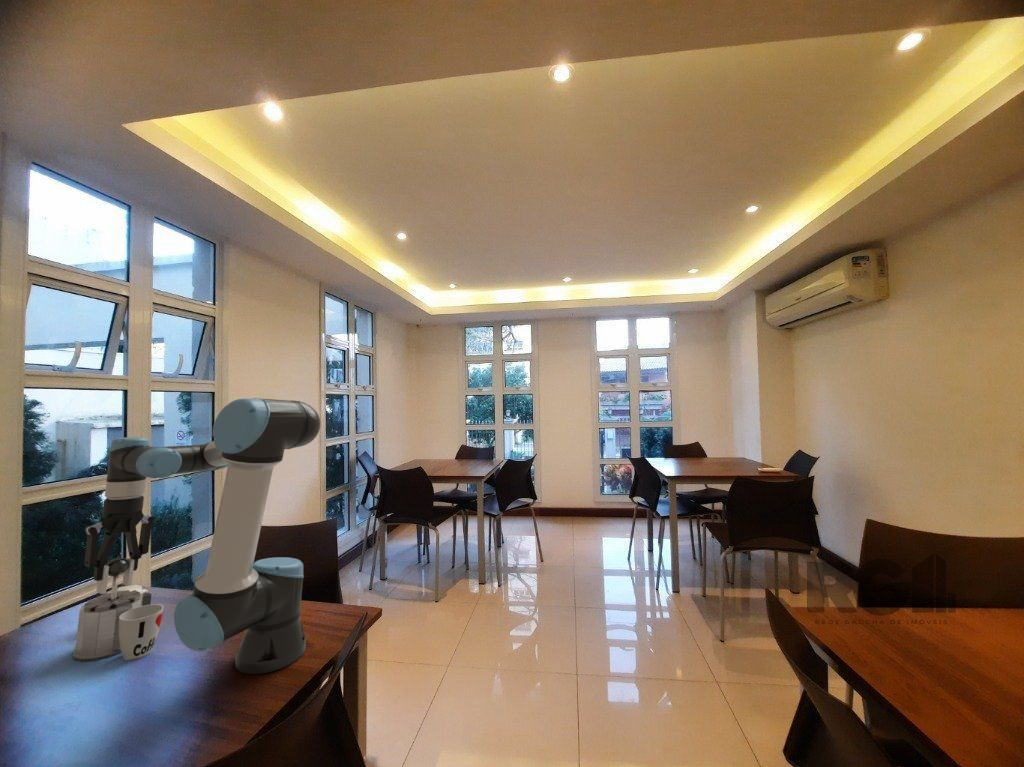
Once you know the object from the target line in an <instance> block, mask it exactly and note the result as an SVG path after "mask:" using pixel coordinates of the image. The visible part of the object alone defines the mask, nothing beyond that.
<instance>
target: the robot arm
mask: <svg viewBox="0 0 1024 767" xmlns="http://www.w3.org/2000/svg"><path fill="white" fill-rule="evenodd" d="M320 429H321V419H320V415H319V414H318V412H317V411H316V409H315V408H314V407H313V406H311V405H310V404H309V403H307V402H303V401H300V400H291V399H290V400H288V399H287V400H286V399H285V400H284V399H272V398H271V399H270V398H260V397H259V398H257V397H253V398H238V399H235V400H232V401H231V402H229V403H228V404H226V405H225V406H224V407H223V408H222V409H221V410H220V411H219V413H218V414H217V415H216V417H215V420H214V423H213V427H212V437H213V438H214V439H213V441H210V442H207V443H203V444H194V445H193V444H192V445H187V444H186V445H173V446H170V445H169V446H151V443H150V442H151V441H150V439H149V438H147V437H141V436H140V437H138V436H137V437H135V436H133V437H132V436H130V437H116V438H114V439H112V441H111V443H110V448H109V452H108V464H107V474H106V475H107V476H106V482H105V483H106V484H105V490H104V492H105V493H104V497H105V499H104V500H103V508H102V517H101V519H100V520H99V522H97V523H95V524H92V525H87V526H85V527H84V532H85V534H86V543H85V544H86V545H85V554H84V555H85V556H84V566H85V567H88V568H91V569H92V568H94V570H93V580H94V581H96V582H97V584H96V593H98V594H101V595H104V594H105V593H107V588H108V581H109V580H108V579H109V576H108V571H109V566H107V563H108V562H107V561H108V559H109V556H110V553H111V551H112V548H113V547H114V546H113V545H114V542H115V540H116V539H117V538H118V535H121V534H122V533H124V535H125V540H126V544H127V545H126V546H127V551H128V556H129V557H126V558H125V559H126V560H127V561H128V563H129V566H128V568H127V570H126V571H125V572H124V573H123V574H122V585H124V586H131V585H133V579H134V578H133V576H134V572H135V571H137V569H138V568H139V567H138V566H139V560H140V559H141V558H142V556H144V555H146V554H147V553H149V551H150V550H149V549H150V540H151V535H152V526H153V524H154V521H155V519H156V517H155V516H154V515H144V513H143V508H144V500H145V496H144V495H143V494H145V493H146V480H147V478H150V479H164V478H168V477H170V476H173V475H182V474H190V473H197V472H207V471H211V472H212V471H217V470H221V469H225V468H227V469H226V474H225V479H224V483H223V488H222V494H221V496H220V497H221V498H220V501H219V502H220V503H219V507H218V511H217V517H216V521H215V527H214V532H213V536H212V540H211V546H210V551H209V556H208V559H207V560H208V561H207V566H206V570H205V571H204V572H203V573H201V574H200V575H198V577H196V579H195V582H194V585H193V591H192V594H189V595H186V596H184V597H183V598H182V599H180V600H179V601H178V603H177V604H176V606H175V609H174V614H173V620H174V628H175V631H176V634H177V635H178V638H179V640H180V641H181V643H182V644H183V645H184V646H185V647H186V648H188V650H191V651H193V652H203V651H206V650H209V649H211V648H213V647H214V646H215V647H216V646H219V645H221V644H222V643H223V642H225V641H227V640H229V639H230V638H233V637H234V636H236V635H239V634H241V633H242V632H244V634H243V636H242V640H241V642H240V644H239V647H238V649H237V650H236V654H235V661H234V662H235V663H234V665H235V666H234V667H235V669H236V670H237V671H238V672H239V673H242V674H248V675H259V674H266V673H271V672H274V671H277V670H280V669H283V668H285V667H287V666H289V665H291V664H293V663H295V661H297V660H298V659H299V658H300V657H302V655H303V654H304V652H305V651H306V645H307V644H306V642H307V639H306V638H307V637H306V634H305V630H304V627H303V624H302V620H301V608H302V599H303V598H302V597H303V584H304V578H305V575H304V562H302V561H301V560H300V559H298V558H293V557H285V556H284V557H280V556H278V557H275V556H274V557H267V558H262V559H259V560H258V559H257V560H256V561H255V557H256V554H257V548H258V543H259V538H260V534H261V528H262V523H263V518H264V514H265V509H266V504H267V499H268V494H269V490H270V484H271V479H272V476H273V470H274V467H275V466H277V465H278V464H280V463H281V462H283V458H284V454H285V450H292V449H294V448H295V449H296V448H301V447H304V446H306V445H308V444H311V443H312V442H313V441H314V440H315V438H317V436H318V434H319V433H320ZM139 523H141V526H140V531H139V532H140V534H139V539H138V538H137V533H138V531H137V526H138V525H139ZM101 529H103V530H105V532H104V534H103V540H102V542H101V545H100V547H99V549H98V546H99V535H100V534H99V533H100V532H101ZM138 540H139V541H138Z"/></svg>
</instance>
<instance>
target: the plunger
mask: <svg viewBox="0 0 1024 767" xmlns="http://www.w3.org/2000/svg"><path fill="white" fill-rule="evenodd" d="M126 559H127V558H124V557H115V558H113V559H111V560H109V561H108V562H107V563H106V565H107V566H109V571H108V577H112V583H111V584H112V585H111V590H112V591H111V600H110V601H112V600H116V594H117V588H118V585H119V576H121V575H124V572H125V571H126V570H127V568H128V566H129V563H128V561H127V560H126ZM111 609H115V607H112V608H111Z"/></svg>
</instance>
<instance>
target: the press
mask: <svg viewBox="0 0 1024 767" xmlns="http://www.w3.org/2000/svg"><path fill="white" fill-rule="evenodd" d="M129 591H130V590H125V591H117V594H116V600H112V601H110V600H111V593H108V594H105V593H104V594H101V595H98V596H96V598H91V599H89V600H88V601H86V602H85V603H84V604H83V605H82V606H81V608H80V609H79V614H78V623H77V629H76V630H77V631H76V636H75V637H76V640H75V647H74V650H73V652H72V658H73V661H77V662H93V661H99V660H103V659H107V658H110V657H113V656H116V655H118V654H122V652H121V649H120V641H119V617H120V615H121V614H123V613H124V612H126V611H128V610H131V609H133V608H137V607H140V606H145V605H151V602H152V593H150V592H148V593H147V592H146V593H143V594H141V593H140V592H138V591H136V590H133V591H130V592H129ZM112 607H115V609H111V608H112Z"/></svg>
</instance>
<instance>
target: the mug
mask: <svg viewBox="0 0 1024 767" xmlns="http://www.w3.org/2000/svg"><path fill="white" fill-rule="evenodd" d="M125 590H130V591H133V590H136V591H138V592H140V593H141V594H143V593H146V592H147V593H149V590H148V589H145V588H143V586H142V585H141V584H132V585H131V586H126V585H124V586H119V587H117V591H125ZM111 591H112V589H111V590H108V591H106V593H104V594H108V593H111ZM130 591H129V592H130Z"/></svg>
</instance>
